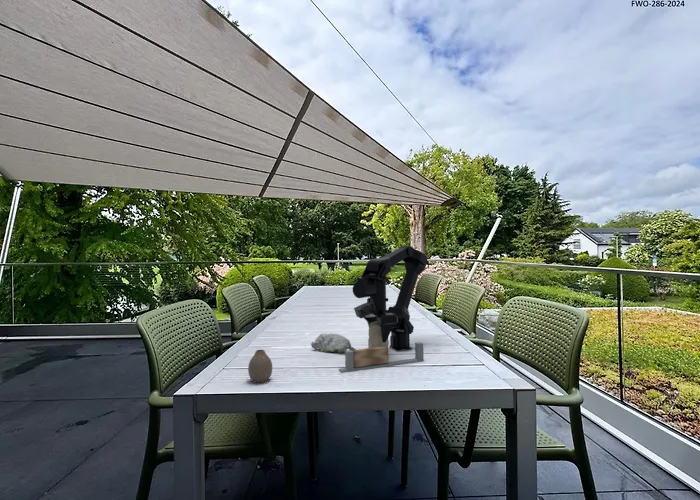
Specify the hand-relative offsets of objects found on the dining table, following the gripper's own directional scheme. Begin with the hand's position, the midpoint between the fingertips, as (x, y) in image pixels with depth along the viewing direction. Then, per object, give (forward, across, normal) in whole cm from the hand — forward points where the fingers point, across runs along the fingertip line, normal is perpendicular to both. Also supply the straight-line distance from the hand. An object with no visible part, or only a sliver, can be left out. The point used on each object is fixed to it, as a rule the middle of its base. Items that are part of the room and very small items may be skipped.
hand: (378, 339), depth 132 cm
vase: (+6, +8, -42) cm, 43 cm away
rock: (+6, -13, -13) cm, 20 cm away
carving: (+6, 0, 0) cm, 6 cm away
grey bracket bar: (+6, +10, -4) cm, 12 cm away
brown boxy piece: (+5, +8, -7) cm, 12 cm away
